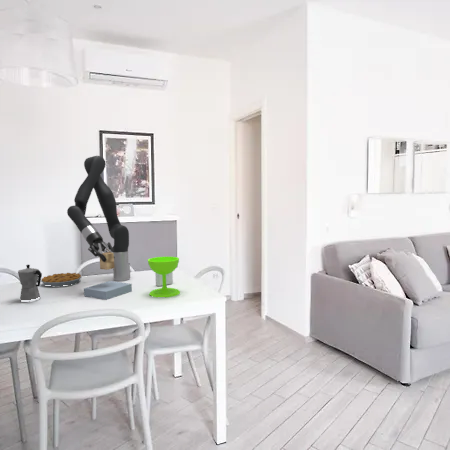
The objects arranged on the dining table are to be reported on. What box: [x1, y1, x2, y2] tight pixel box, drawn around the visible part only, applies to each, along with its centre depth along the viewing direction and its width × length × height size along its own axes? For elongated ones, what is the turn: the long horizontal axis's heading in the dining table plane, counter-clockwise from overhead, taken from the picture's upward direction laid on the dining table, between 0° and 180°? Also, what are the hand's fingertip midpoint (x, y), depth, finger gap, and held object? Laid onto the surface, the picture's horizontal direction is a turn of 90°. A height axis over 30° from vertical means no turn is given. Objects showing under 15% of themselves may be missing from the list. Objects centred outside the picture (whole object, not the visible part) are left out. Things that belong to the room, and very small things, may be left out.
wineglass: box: [147, 256, 181, 298], centre depth 203 cm, size 16×16×18 cm
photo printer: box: [154, 272, 174, 287], centre depth 222 cm, size 10×4×12 cm, turn 134°
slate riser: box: [83, 280, 133, 300], centre depth 206 cm, size 18×16×4 cm
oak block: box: [99, 251, 114, 271], centre depth 204 cm, size 5×5×8 cm
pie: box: [40, 272, 82, 286], centre depth 231 cm, size 22×22×5 cm
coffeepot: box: [17, 264, 43, 300], centre depth 195 cm, size 15×9×18 cm, turn 66°
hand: (109, 259), depth 203 cm, fingers closed on oak block, 5 cm apart
